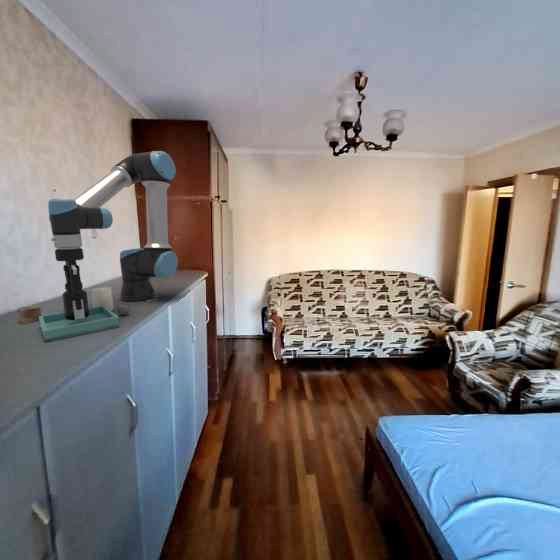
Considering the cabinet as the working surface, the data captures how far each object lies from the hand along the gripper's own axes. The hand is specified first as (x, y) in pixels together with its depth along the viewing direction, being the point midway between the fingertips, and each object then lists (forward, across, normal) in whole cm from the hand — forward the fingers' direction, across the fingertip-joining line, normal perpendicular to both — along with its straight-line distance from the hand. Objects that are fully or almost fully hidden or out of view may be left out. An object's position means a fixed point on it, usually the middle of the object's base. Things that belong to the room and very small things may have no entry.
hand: (78, 316), depth 102 cm
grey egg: (+4, -4, +15) cm, 16 cm away
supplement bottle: (+1, 0, 0) cm, 1 cm away
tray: (+4, 0, 0) cm, 4 cm away
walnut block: (+4, -20, -12) cm, 24 cm away
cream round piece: (+4, -17, +11) cm, 21 cm away
